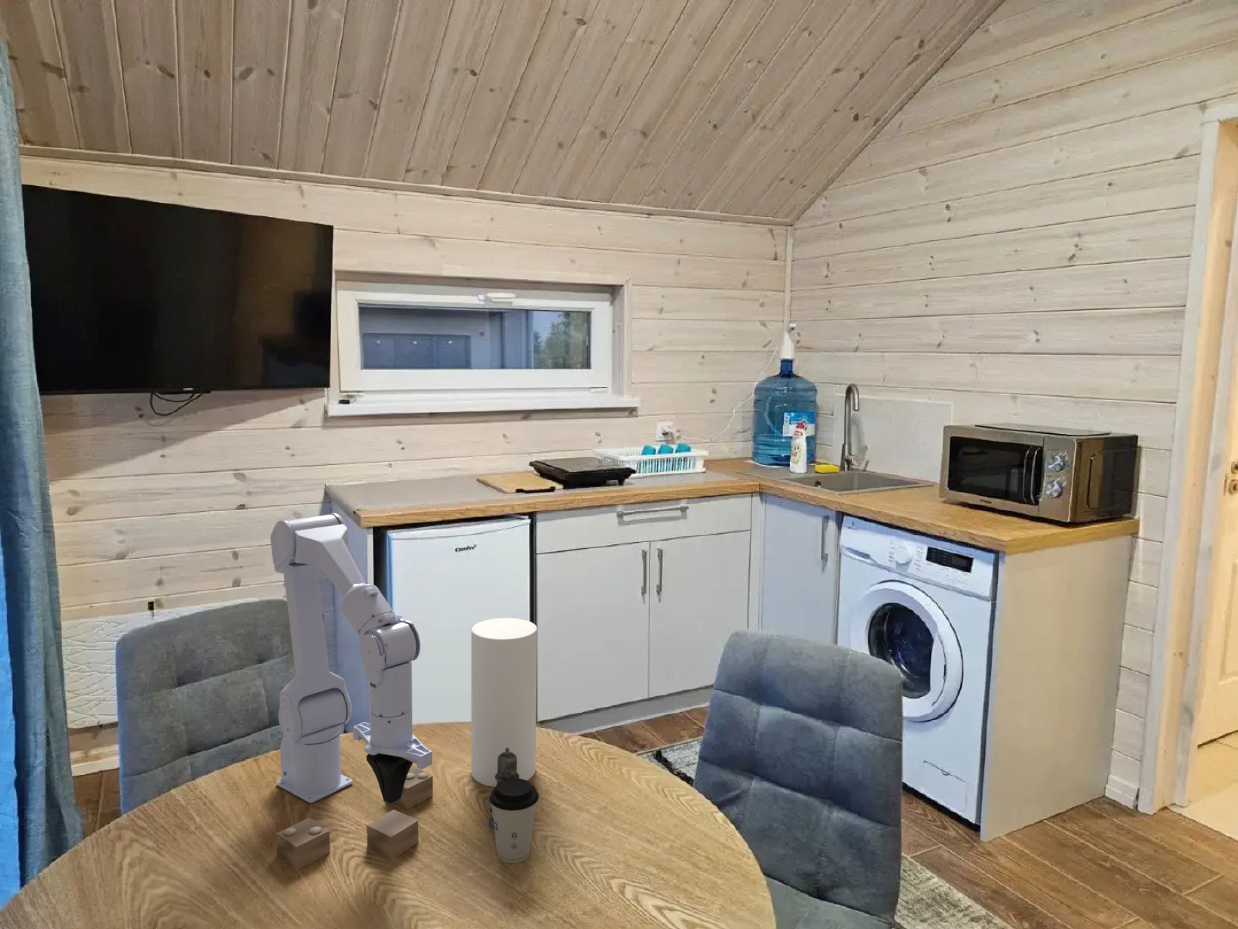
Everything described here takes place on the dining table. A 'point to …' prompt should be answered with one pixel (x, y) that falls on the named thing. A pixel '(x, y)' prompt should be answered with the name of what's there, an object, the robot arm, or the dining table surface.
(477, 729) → the tall pillar cylinder
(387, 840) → the plain block
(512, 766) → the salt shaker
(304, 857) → the two-dot block
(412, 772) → the three-dot block
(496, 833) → the coffee cup
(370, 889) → the dining table surface
